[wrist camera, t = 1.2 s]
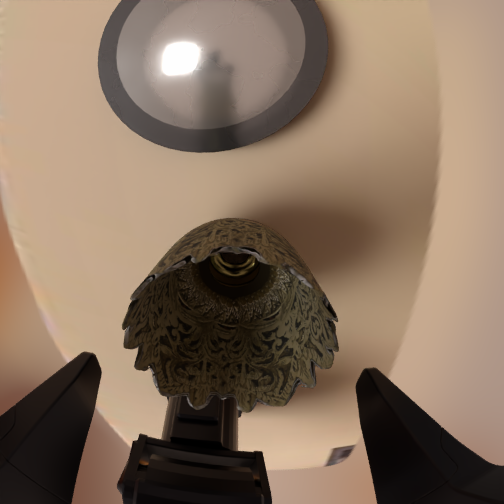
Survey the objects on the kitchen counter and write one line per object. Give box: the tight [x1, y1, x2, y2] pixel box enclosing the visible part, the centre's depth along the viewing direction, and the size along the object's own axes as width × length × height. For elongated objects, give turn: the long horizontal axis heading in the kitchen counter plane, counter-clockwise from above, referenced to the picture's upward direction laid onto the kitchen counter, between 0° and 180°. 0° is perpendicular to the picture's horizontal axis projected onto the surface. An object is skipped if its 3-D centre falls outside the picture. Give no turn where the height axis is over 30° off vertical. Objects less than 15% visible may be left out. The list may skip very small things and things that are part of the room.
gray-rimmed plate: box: [98, 0, 328, 153], centre depth 10 cm, size 11×11×1 cm
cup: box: [122, 218, 339, 413], centre depth 12 cm, size 8×7×8 cm
